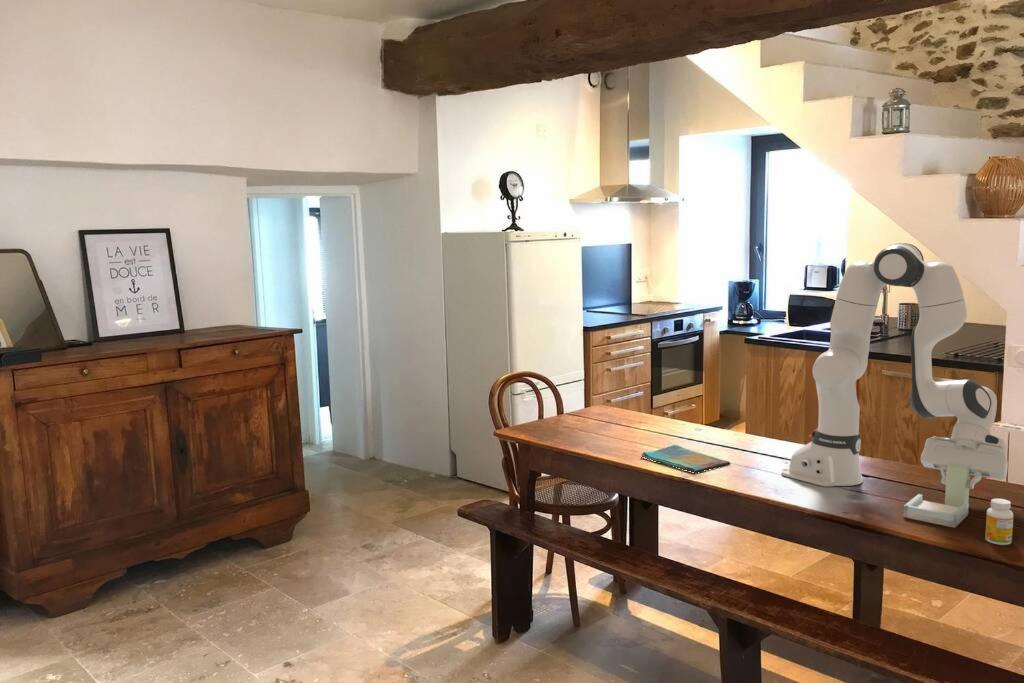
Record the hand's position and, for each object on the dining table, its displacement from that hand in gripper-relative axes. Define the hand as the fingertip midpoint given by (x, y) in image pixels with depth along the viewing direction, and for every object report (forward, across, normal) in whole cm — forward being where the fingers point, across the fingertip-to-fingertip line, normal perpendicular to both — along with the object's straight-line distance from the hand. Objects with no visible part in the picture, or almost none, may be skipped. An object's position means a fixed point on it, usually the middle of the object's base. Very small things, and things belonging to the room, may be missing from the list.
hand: (956, 485), depth 216 cm
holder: (+12, -2, -3) cm, 12 cm away
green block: (+4, 0, +5) cm, 6 cm away
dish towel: (+9, -77, 0) cm, 78 cm away
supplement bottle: (+18, +14, -9) cm, 25 cm away
